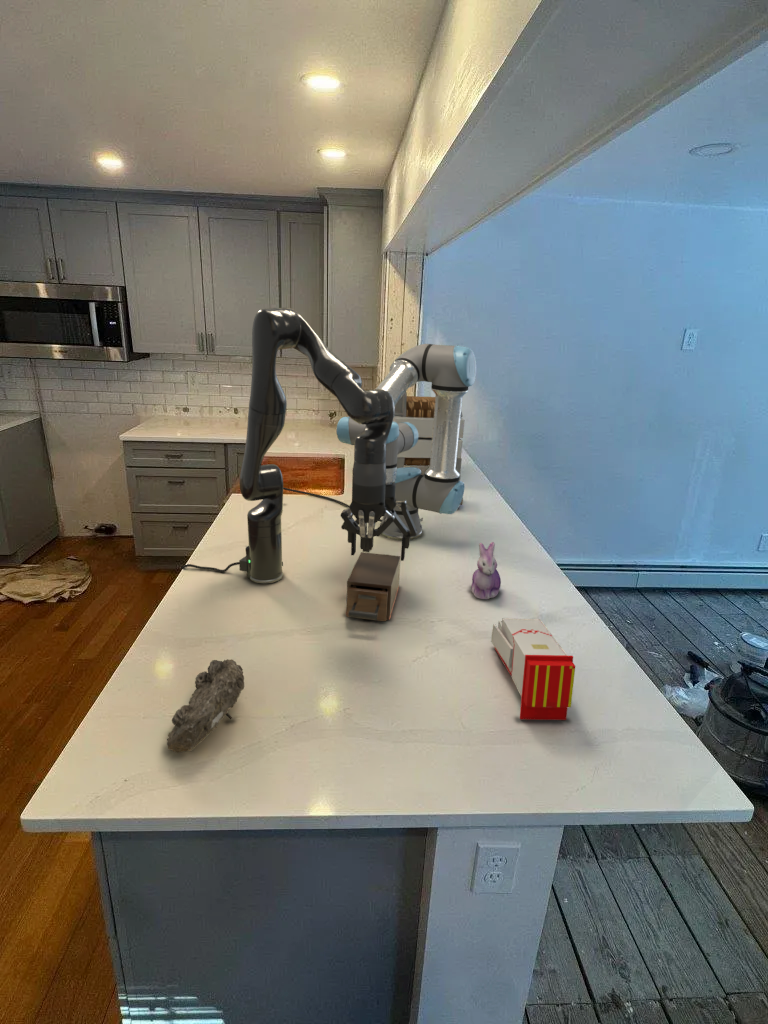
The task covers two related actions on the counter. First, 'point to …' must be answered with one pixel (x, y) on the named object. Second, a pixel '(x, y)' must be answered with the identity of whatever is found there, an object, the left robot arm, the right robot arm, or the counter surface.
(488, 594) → the figurine
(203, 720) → the fossil
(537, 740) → the counter surface
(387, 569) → the cabinet
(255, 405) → the left robot arm
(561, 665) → the toy
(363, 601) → the drawer
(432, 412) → the white slatted crate
